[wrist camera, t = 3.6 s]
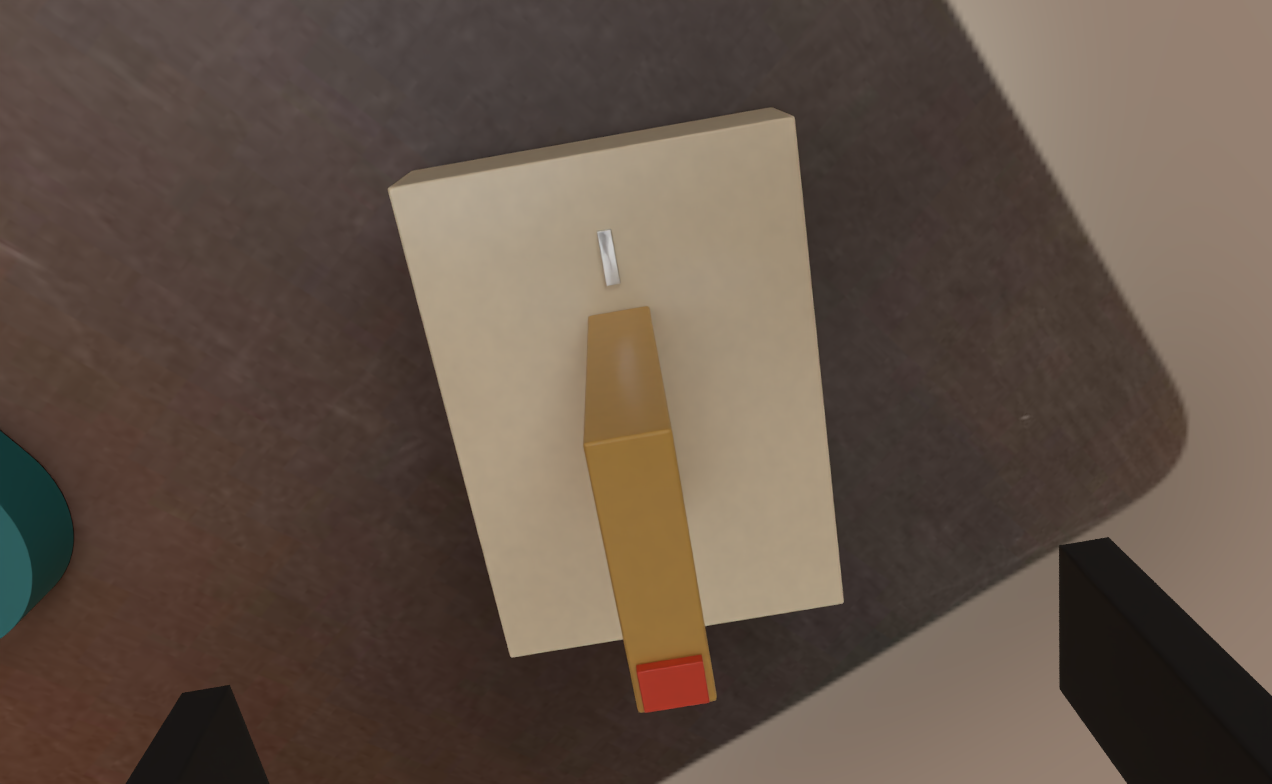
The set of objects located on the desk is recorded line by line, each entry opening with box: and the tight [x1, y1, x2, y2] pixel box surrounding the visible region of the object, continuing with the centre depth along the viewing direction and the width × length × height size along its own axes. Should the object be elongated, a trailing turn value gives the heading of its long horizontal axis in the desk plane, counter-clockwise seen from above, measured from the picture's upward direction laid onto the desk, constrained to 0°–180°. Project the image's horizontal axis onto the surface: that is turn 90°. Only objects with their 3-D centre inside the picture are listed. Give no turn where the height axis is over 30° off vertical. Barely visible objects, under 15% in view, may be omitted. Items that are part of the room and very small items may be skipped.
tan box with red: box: [583, 306, 717, 713], centre depth 21 cm, size 6×2×8 cm, turn 10°
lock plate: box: [388, 107, 844, 657], centre depth 26 cm, size 14×10×3 cm
